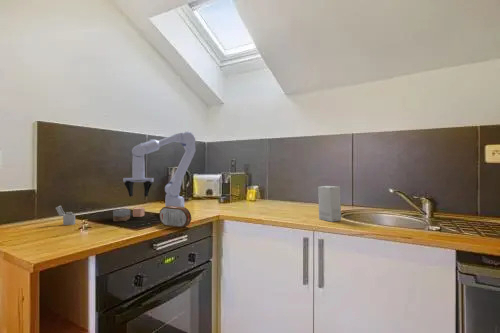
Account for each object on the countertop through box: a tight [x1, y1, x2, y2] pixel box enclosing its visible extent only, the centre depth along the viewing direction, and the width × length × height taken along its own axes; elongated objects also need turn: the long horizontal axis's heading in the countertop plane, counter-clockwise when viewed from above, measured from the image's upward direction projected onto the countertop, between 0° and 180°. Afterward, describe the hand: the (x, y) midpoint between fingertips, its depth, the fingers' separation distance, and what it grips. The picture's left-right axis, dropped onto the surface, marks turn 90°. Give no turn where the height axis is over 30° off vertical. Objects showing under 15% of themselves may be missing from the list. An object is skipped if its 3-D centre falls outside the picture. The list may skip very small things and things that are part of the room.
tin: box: [159, 206, 192, 229], centre depth 113 cm, size 15×3×8 cm, turn 65°
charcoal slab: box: [112, 208, 131, 217], centre depth 126 cm, size 5×5×2 cm
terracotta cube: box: [132, 207, 145, 218], centre depth 136 cm, size 4×4×4 cm
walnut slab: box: [112, 214, 131, 222], centre depth 126 cm, size 6×6×2 cm
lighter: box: [55, 205, 76, 226], centre depth 117 cm, size 7×2×8 cm, turn 98°
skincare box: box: [317, 185, 342, 223], centre depth 126 cm, size 8×7×16 cm
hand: (138, 196), depth 136 cm, fingers open, 7 cm apart
